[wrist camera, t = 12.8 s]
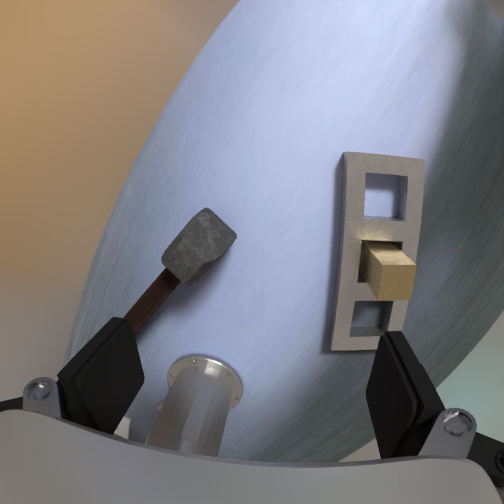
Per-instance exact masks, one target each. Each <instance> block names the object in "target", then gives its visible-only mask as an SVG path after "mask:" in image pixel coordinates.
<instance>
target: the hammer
mask: <svg viewBox="0 0 504 504" xmlns="http://www.w3.org/2000/svg"><path fill="white" fill-rule="evenodd" d="M236 238H237V236H236V233H235V232H234V231H233V230H232V229H231V228H230V227H228V226H227V225H226V224H225V223H224V222H223V221H222V220H221V219H220V218H219V217H218V216H217V215H216V214H215V213H213V212H212V211H211V210H210V209H208V208H204V209H203V210H201V211H200V212H199V213H197V214H196V215H195V216H194V217H193V218H192V219H191V220H190V221H189V222H188V224H187V225H186V226H185V227H184V228H183V230H182V231H181V232H180V233H179V234H178V236H177V237H176V238H175V239H174V241H173V242H172V243H171V244H170V245H169V247H168V248H167V249H166V250H165V252H164V254H163V256H162V257H161V260H162V264H163V265H164V266H165V267H166V268H165V270H164V271H163V272H162V273H161V274H160V275H159V276H158V278H157V279H156V280H155V281H154V282H153V283H152V284H151V286H150V287H149V288H148V289H147V290H146V291H145V293H144V294H143V295H142V296H141V297H140V298H139V300H138V301H137V302H136V303H135V304H134V306H133V307H132V308H131V309H130V310H129V312H128V313H127V314H126V315H125V316H124V318H125V319H127V320H128V321H129V323H131V324H132V326H133V330H134V335H135V334H136V333H137V332H138V331H139V330H140V328H141V327H142V326H143V325H144V324H145V322H146V321H147V320H148V319H149V318H150V317H151V315H152V314H153V313H154V312H155V311H156V310H157V308H158V307H159V306H160V305H161V304H162V303H163V302H164V300H165V299H166V298H167V297H168V296H169V295H170V293H171V292H172V291H173V290H174V289H175V288H176V287H177V285H178V284H179V283H180V282H181V281H182V282H183V283H184V284H187V285H191V284H193V283H194V282H196V281H197V280H198V279H199V278H200V277H201V276H202V275H203V274H204V273H205V272H206V271H207V270H208V269H209V268H210V267H211V266H212V265H213V264H214V263H215V262H216V261H217V260H218V259H219V258H220V257H221V256H222V255H223V254H224V253H225V252H226V251H227V250H228V249H229V247H230V246H231V245H232V243H233V242H234V241H235V239H236Z"/></svg>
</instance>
